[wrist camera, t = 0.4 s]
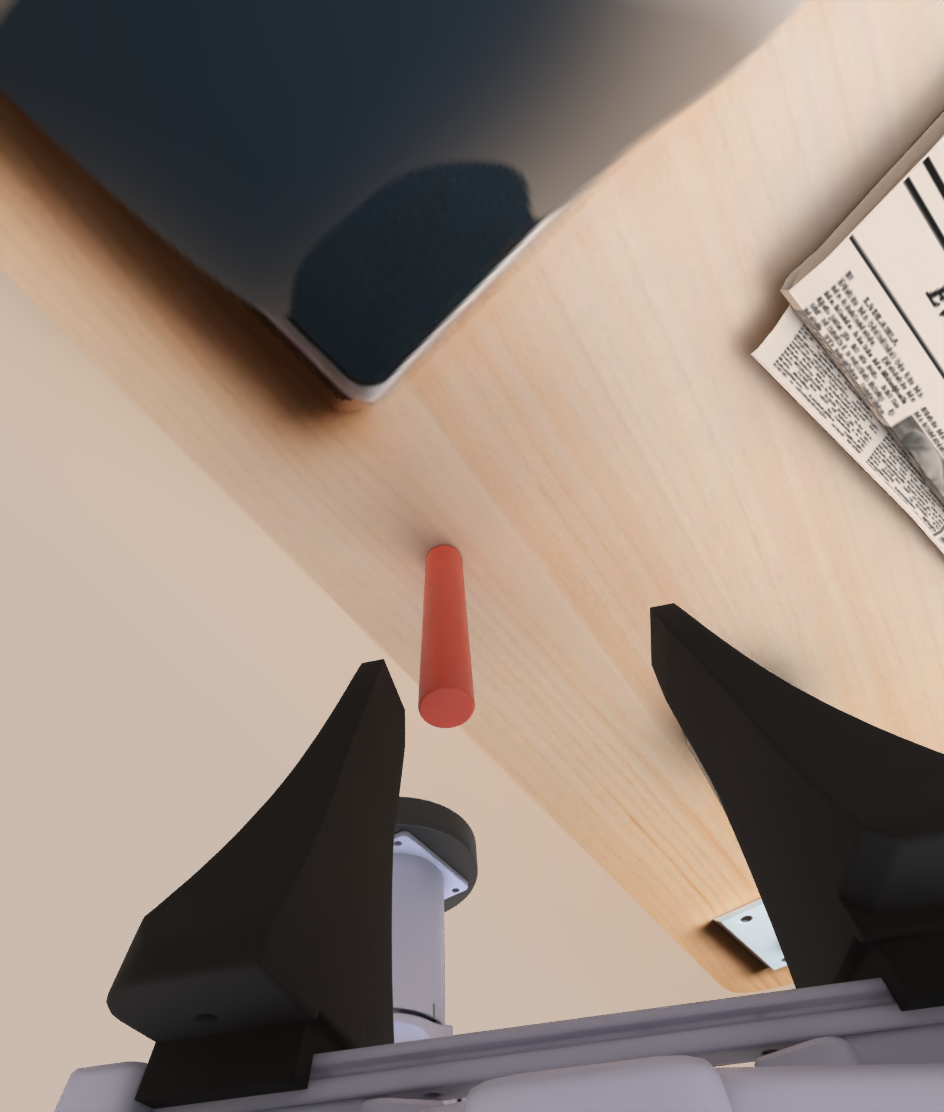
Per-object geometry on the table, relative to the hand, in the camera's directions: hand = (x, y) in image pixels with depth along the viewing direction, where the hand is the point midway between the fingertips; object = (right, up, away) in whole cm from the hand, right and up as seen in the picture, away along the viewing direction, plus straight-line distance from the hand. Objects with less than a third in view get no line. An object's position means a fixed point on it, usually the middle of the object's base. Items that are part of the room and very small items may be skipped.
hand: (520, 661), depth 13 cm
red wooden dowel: (-3, +3, +9) cm, 9 cm away
